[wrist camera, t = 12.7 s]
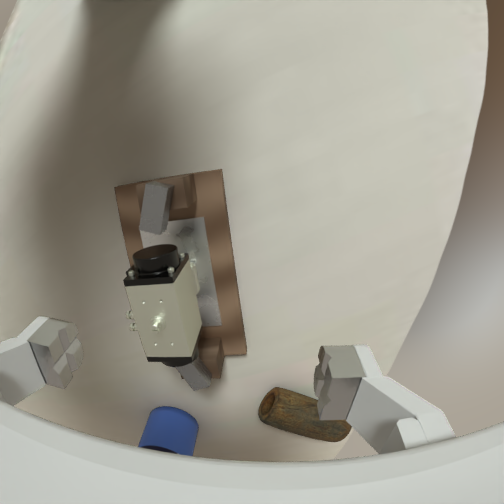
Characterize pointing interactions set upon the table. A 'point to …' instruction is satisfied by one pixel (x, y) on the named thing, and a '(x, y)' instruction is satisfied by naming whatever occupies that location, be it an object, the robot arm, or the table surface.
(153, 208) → the grey long bracket
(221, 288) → the shaft rig base
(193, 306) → the pneumatic valve
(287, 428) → the brown wooden cylinder
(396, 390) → the robot arm
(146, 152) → the table surface
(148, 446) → the water bottle
